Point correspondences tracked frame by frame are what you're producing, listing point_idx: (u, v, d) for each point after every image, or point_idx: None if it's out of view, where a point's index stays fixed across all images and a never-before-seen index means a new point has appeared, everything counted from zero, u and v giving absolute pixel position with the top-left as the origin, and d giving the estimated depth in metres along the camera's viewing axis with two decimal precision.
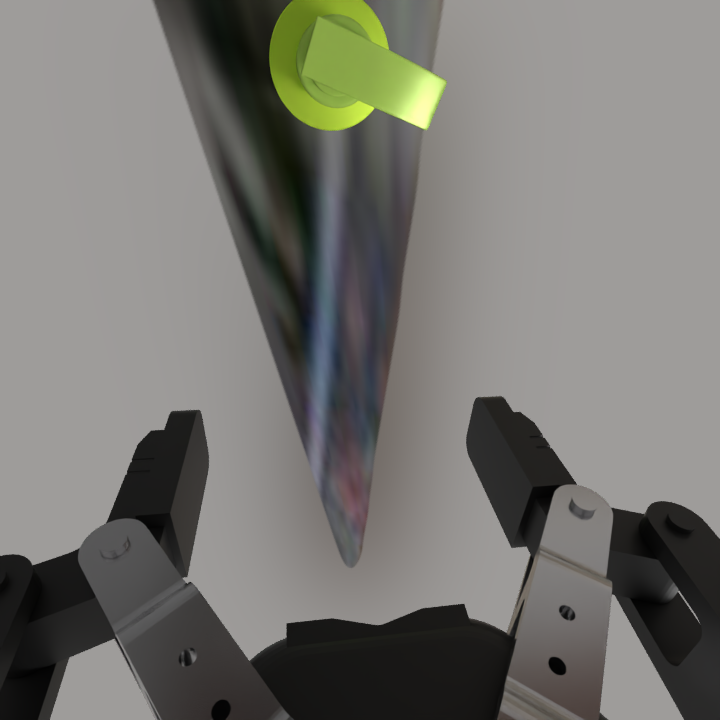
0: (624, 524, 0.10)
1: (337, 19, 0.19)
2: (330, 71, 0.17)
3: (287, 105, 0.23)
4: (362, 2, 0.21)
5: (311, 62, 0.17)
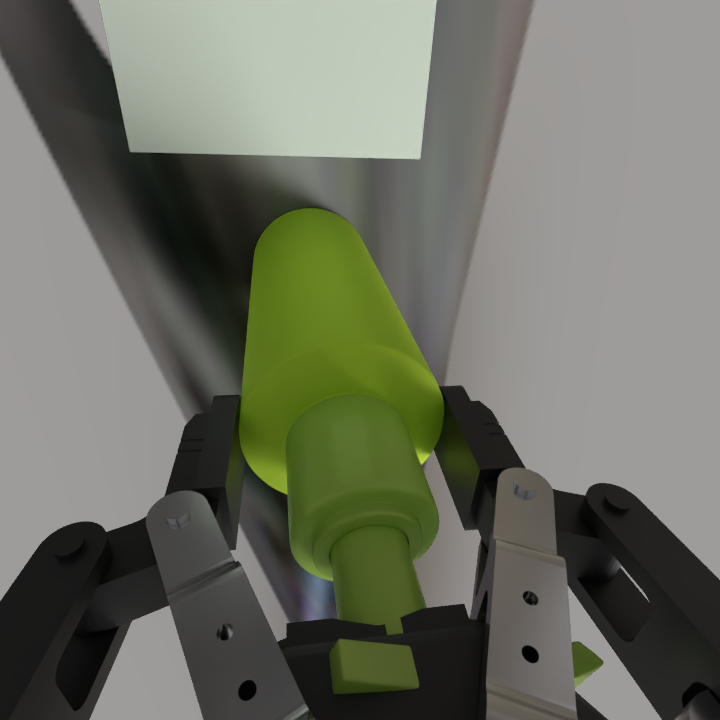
0: (566, 505, 0.10)
1: (370, 493, 0.09)
2: None
3: (272, 485, 0.14)
4: (403, 356, 0.12)
5: None
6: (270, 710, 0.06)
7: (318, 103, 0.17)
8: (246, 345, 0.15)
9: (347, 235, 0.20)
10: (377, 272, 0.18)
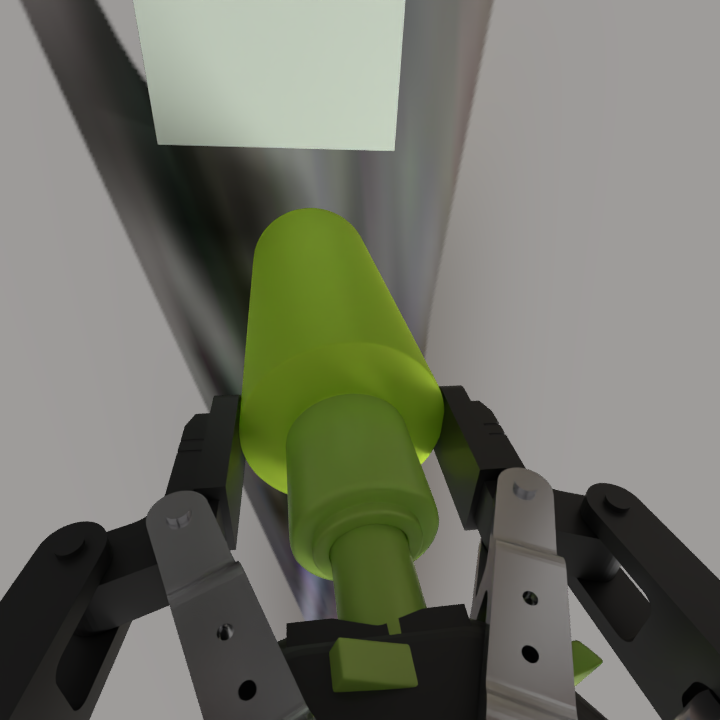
0: (566, 505, 0.10)
1: (370, 492, 0.09)
2: None
3: (272, 484, 0.14)
4: (403, 355, 0.12)
5: None
6: (271, 710, 0.06)
7: (309, 105, 0.21)
8: (246, 345, 0.15)
9: (347, 235, 0.20)
10: (377, 272, 0.18)
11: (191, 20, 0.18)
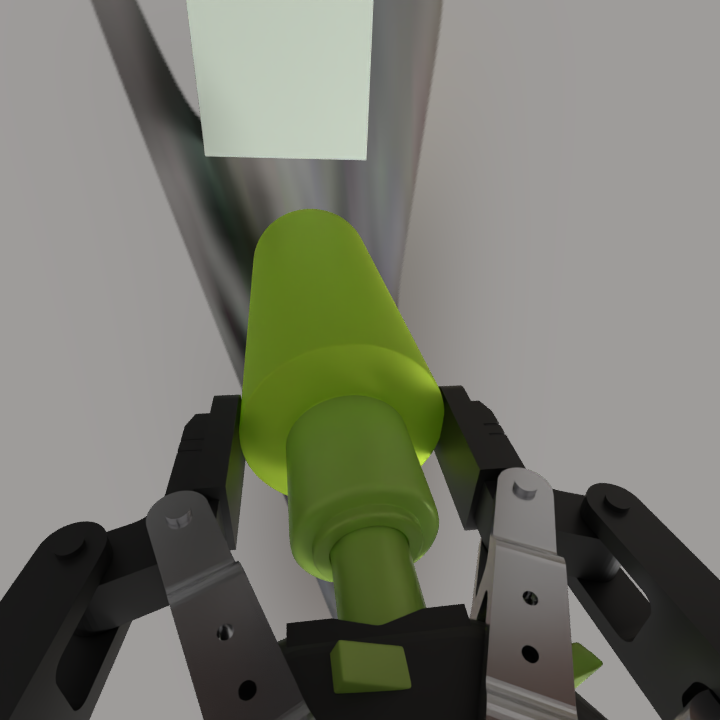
0: (566, 505, 0.10)
1: (370, 494, 0.09)
2: None
3: (272, 486, 0.14)
4: (403, 357, 0.12)
5: None
6: (270, 710, 0.06)
7: (307, 129, 0.30)
8: (246, 346, 0.15)
9: (347, 236, 0.20)
10: (377, 273, 0.18)
11: (231, 76, 0.28)
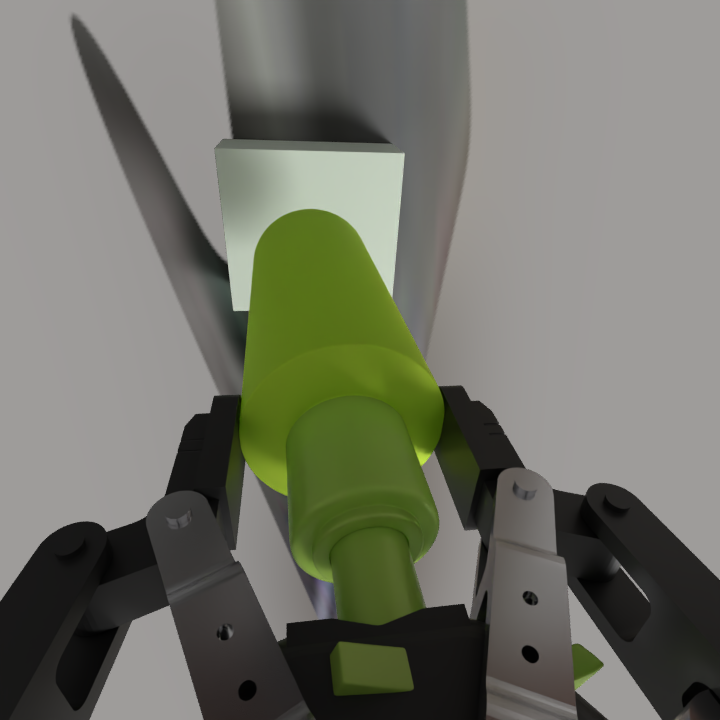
0: (566, 505, 0.10)
1: (370, 495, 0.09)
2: None
3: (272, 486, 0.14)
4: (403, 357, 0.12)
5: None
6: (270, 710, 0.06)
7: None
8: (246, 346, 0.15)
9: (347, 236, 0.20)
10: (377, 273, 0.18)
11: None
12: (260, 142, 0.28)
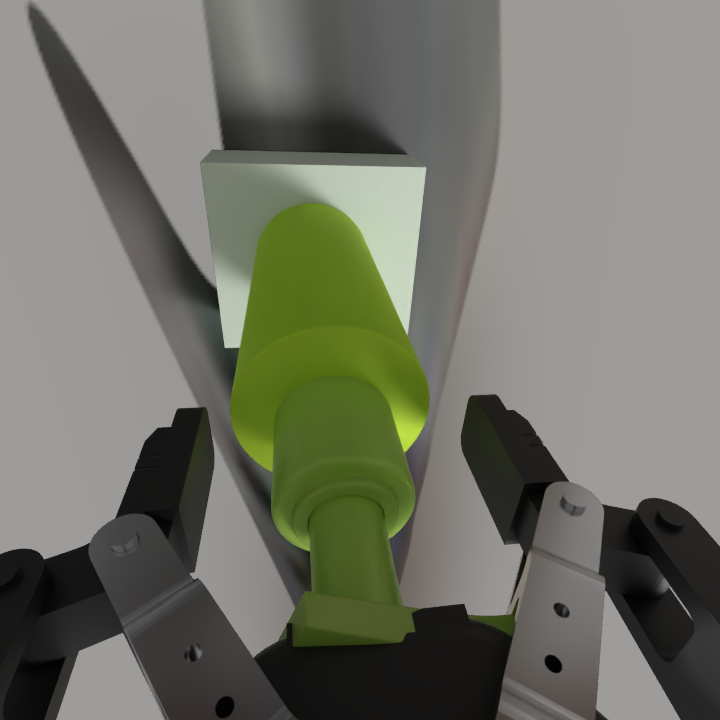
0: (615, 520, 0.10)
1: (347, 465, 0.10)
2: None
3: (262, 464, 0.14)
4: (387, 340, 0.12)
5: None
6: None
7: None
8: None
9: (346, 229, 0.20)
10: (373, 264, 0.19)
11: None
12: (255, 154, 0.24)
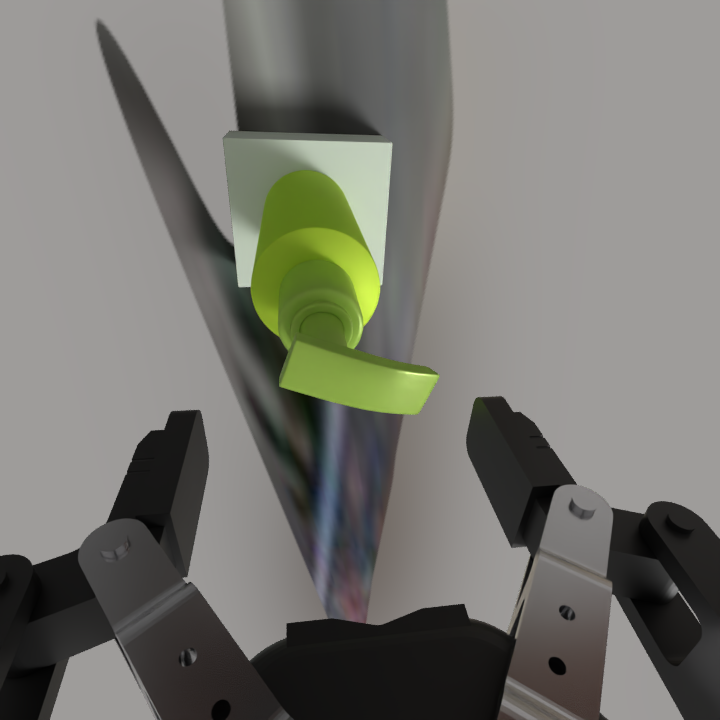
0: (624, 524, 0.10)
1: (321, 293, 0.17)
2: (311, 383, 0.15)
3: (271, 328, 0.22)
4: (350, 238, 0.20)
5: (290, 376, 0.15)
6: None
7: None
8: None
9: (330, 186, 0.28)
10: (349, 209, 0.26)
11: None
12: (263, 133, 0.31)
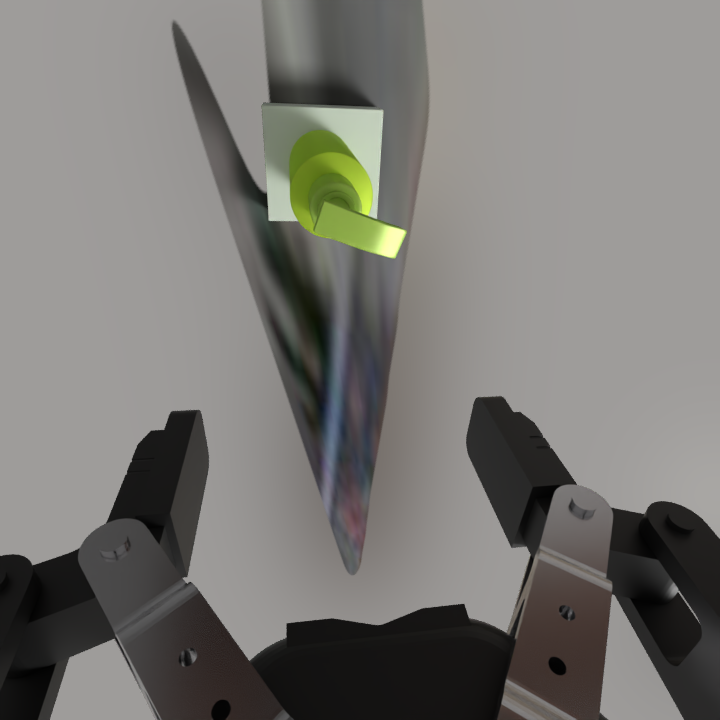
0: (624, 524, 0.10)
1: (336, 186, 0.29)
2: (332, 230, 0.27)
3: (301, 223, 0.33)
4: (353, 160, 0.31)
5: (320, 225, 0.27)
6: None
7: None
8: (290, 174, 0.35)
9: (339, 139, 0.39)
10: None
11: (288, 171, 0.43)
12: (289, 104, 0.43)
